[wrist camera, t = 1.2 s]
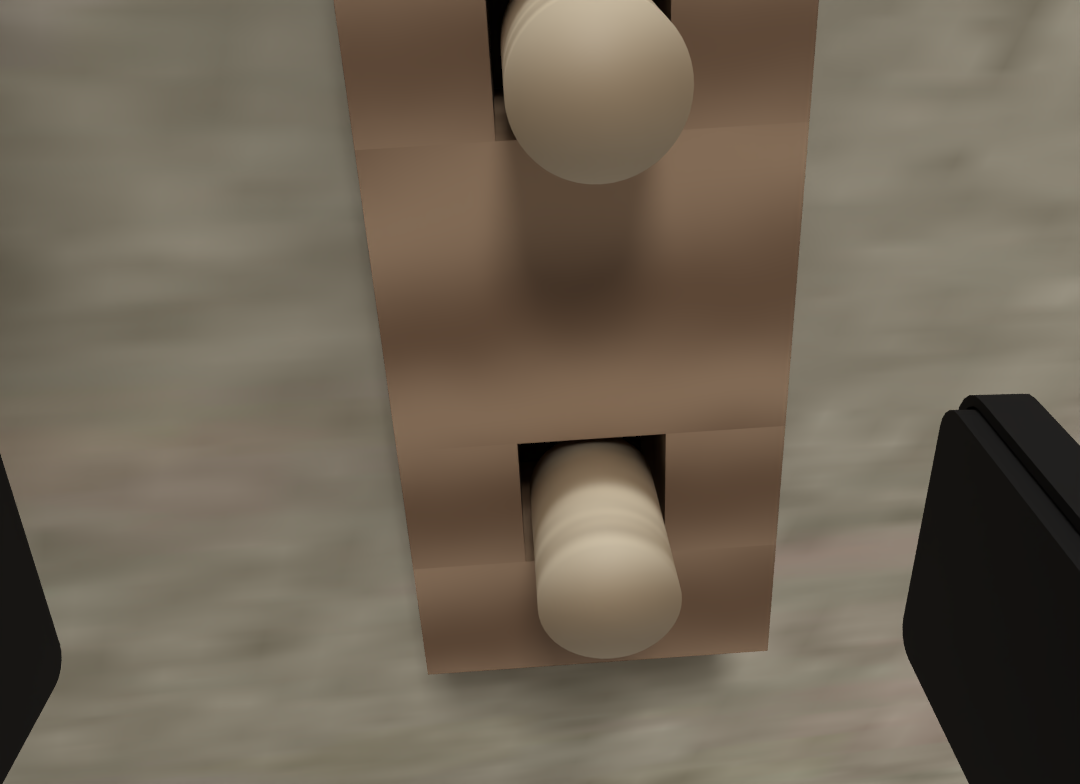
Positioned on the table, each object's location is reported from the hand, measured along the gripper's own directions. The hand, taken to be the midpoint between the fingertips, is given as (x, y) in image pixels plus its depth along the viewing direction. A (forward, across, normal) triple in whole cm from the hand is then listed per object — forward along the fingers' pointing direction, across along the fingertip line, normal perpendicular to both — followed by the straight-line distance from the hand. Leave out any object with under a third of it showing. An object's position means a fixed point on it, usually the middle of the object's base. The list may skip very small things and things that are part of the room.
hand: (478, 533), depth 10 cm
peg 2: (+19, -3, +12) cm, 23 cm away
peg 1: (+19, -2, -2) cm, 19 cm away
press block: (+25, -2, +5) cm, 25 cm away
